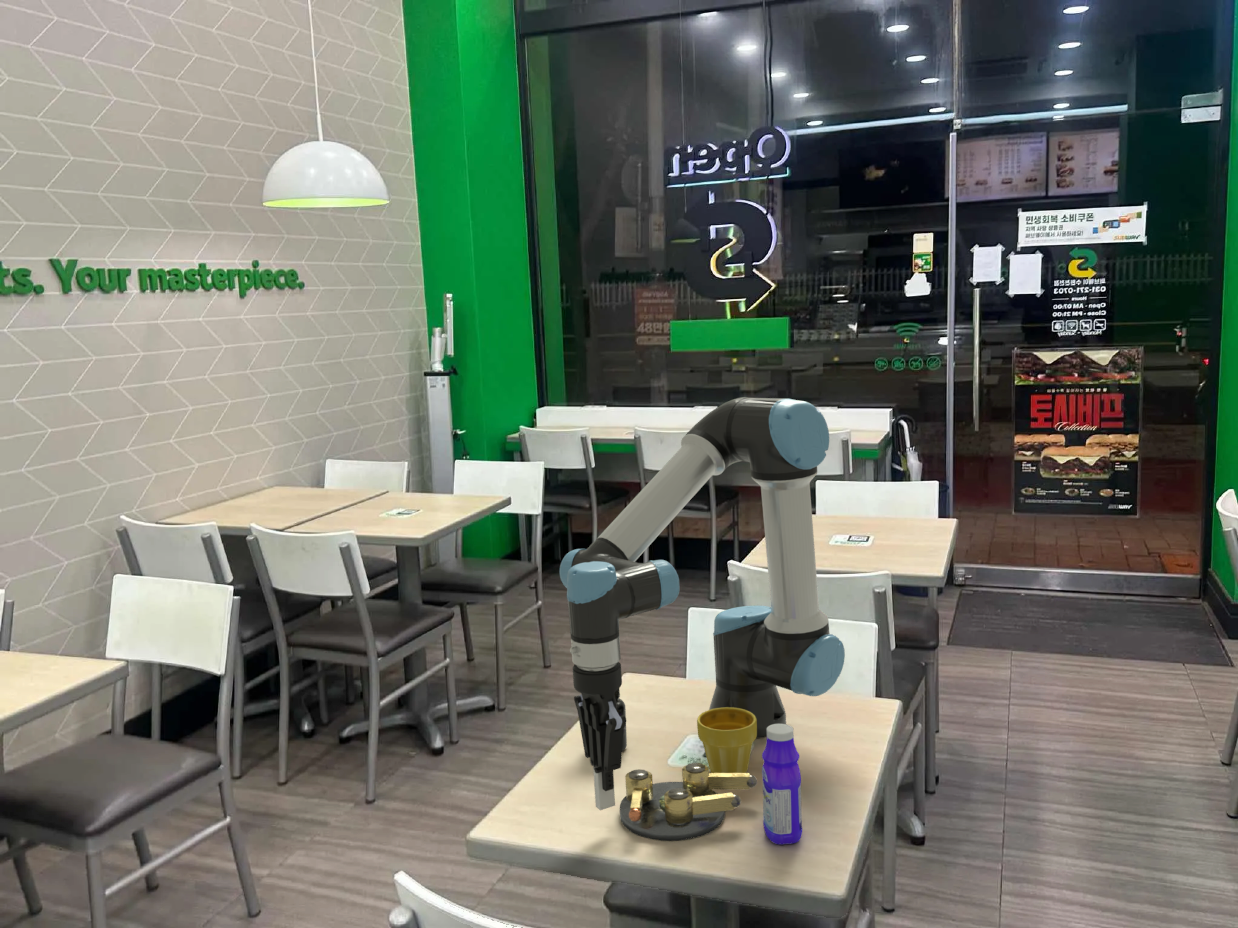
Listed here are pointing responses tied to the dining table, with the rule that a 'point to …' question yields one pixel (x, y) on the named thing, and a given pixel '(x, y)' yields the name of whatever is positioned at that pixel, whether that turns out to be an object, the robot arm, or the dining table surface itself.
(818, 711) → the dining table surface
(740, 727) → the plant pot
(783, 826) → the bottle
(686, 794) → the knob
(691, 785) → the knob left
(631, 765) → the dining table surface
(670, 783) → the tribrach plate
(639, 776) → the knob
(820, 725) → the dining table surface
